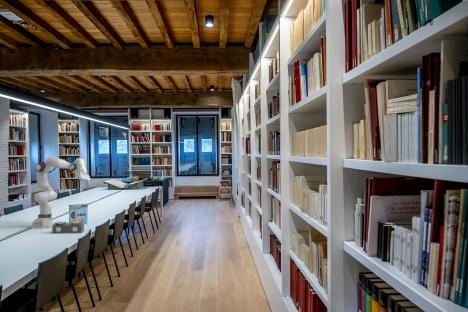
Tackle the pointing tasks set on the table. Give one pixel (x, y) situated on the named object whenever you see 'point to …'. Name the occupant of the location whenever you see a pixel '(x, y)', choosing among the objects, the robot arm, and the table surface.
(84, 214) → the gum box
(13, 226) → the table surface
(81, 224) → the switch block
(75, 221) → the rocker
